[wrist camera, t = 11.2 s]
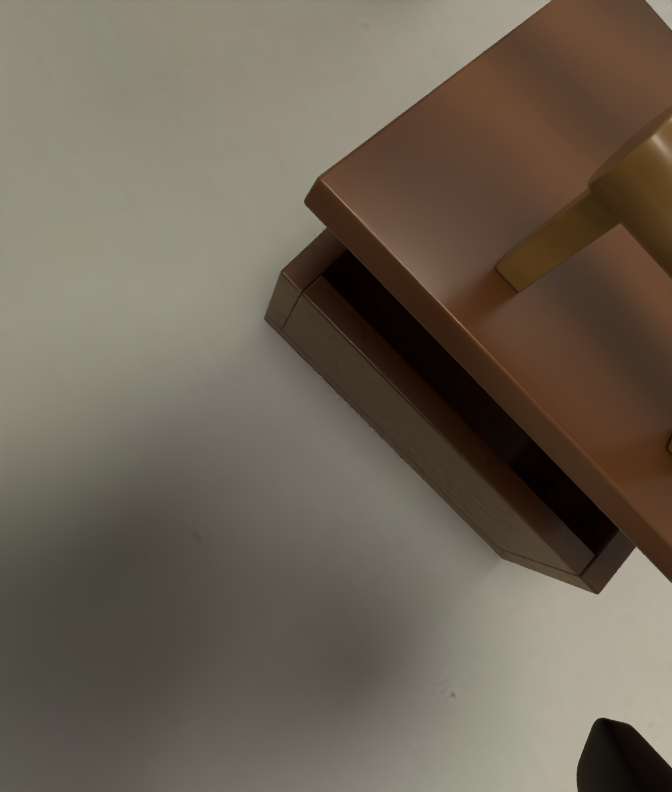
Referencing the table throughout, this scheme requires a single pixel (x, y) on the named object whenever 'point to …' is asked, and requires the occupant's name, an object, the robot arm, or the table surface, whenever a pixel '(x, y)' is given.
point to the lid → (542, 241)
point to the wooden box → (441, 418)
